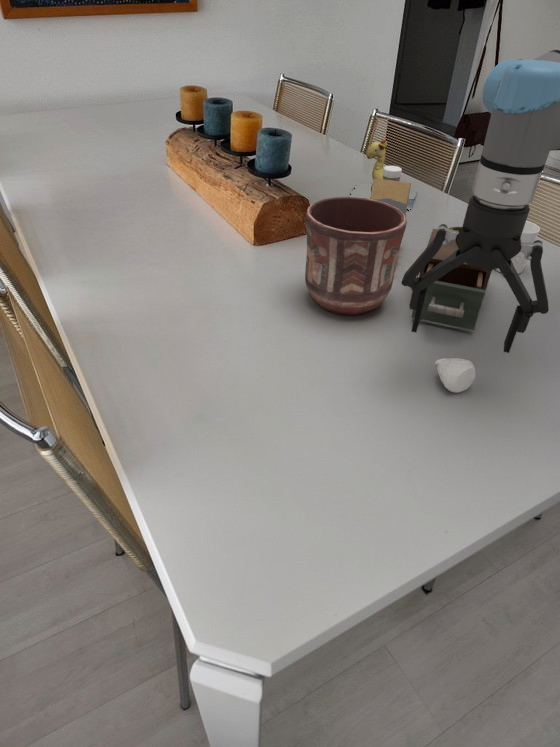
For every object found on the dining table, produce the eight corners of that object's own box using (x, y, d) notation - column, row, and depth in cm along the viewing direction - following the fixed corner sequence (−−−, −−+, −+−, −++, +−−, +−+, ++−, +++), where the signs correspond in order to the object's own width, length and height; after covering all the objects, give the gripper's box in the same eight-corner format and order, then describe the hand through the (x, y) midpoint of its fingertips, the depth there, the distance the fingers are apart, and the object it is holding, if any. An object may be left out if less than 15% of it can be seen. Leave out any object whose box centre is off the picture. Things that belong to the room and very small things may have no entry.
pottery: (324, 332, 99) (334, 238, 88) (287, 287, 111) (291, 201, 100) (407, 315, 104) (426, 226, 93) (363, 274, 117) (375, 191, 106)
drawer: (472, 342, 96) (483, 304, 91) (407, 328, 99) (415, 290, 94) (478, 296, 109) (488, 261, 105) (421, 285, 112) (429, 250, 107)
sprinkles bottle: (397, 221, 141) (406, 168, 133) (384, 225, 139) (392, 171, 131) (384, 215, 144) (393, 163, 136) (372, 219, 142) (379, 166, 134)
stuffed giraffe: (357, 183, 164) (365, 127, 153) (417, 193, 160) (429, 137, 150) (345, 203, 152) (353, 144, 142) (409, 215, 148) (422, 155, 138)
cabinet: (478, 313, 106) (492, 269, 100) (413, 300, 109) (423, 256, 103) (483, 281, 117) (495, 239, 111) (424, 270, 120) (433, 228, 114)
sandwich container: (355, 268, 119) (364, 201, 110) (364, 240, 131) (373, 177, 122) (395, 273, 118) (407, 206, 109) (400, 245, 130) (411, 182, 121)
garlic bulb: (447, 368, 91) (455, 341, 88) (473, 388, 87) (482, 361, 84) (422, 377, 89) (429, 350, 86) (447, 398, 85) (455, 370, 82)
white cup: (523, 279, 118) (538, 235, 112) (486, 271, 120) (499, 228, 114) (526, 265, 124) (541, 222, 118) (491, 257, 126) (503, 215, 120)
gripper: (398, 193, 70) (374, 331, 83) (609, 227, 64) (547, 370, 77) (408, 176, 75) (383, 308, 88) (602, 206, 69) (545, 343, 82)
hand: (459, 337), depth 83 cm, fingers open, 13 cm apart
